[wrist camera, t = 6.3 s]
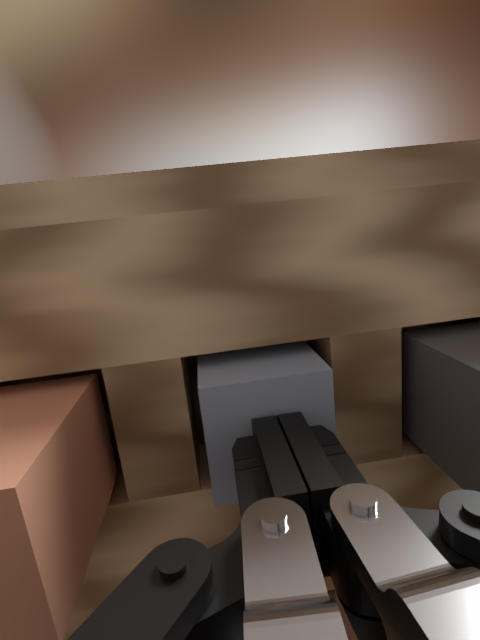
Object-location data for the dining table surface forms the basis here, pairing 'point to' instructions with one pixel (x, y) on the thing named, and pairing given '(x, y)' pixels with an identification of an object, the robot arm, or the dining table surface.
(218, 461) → the key slate
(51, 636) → the key terracotta
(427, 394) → the key charcoal
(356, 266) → the console
